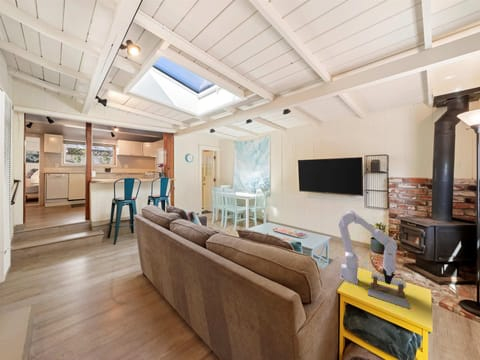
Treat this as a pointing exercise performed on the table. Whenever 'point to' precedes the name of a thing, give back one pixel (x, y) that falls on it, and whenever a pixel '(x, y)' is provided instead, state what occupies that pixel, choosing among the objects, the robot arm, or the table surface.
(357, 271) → the robot arm
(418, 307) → the table surface
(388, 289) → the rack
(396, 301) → the mat
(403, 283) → the rail
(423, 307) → the table surface
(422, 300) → the table surface
